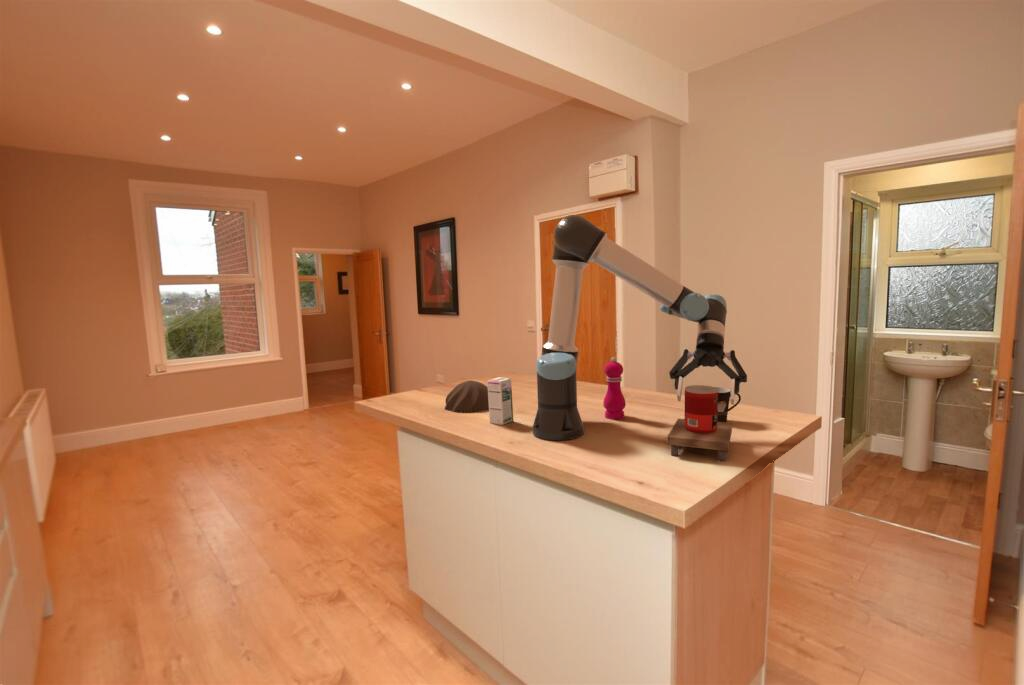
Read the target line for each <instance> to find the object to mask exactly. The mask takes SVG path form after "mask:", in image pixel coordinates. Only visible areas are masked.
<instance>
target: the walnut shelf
mask: <svg viewBox="0 0 1024 685" xmlns="http://www.w3.org/2000/svg"><path fill="white" fill-rule="evenodd" d="M672 426H673V427H672V428H671V430H670V432H669V434H668V435H667V441H666V443H667V445H670V456H673V457H678V456H679V447H686V448H687V447H688V448H698V449H707V450H713V451H714V450H715V451H717V461H718V462H721V461H724V462H726V461H727V452H729V450H730V449H729V448H730V444H731V439H732V437H731V436H732V432H733V422H717V430H716V431H715V432H713V433H695V432H691V431H688V430H687V429H686V428H685V418H677V420H676V422H675V423H674V425H672Z"/></svg>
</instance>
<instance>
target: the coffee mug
mask: <svg viewBox="0 0 1024 685" xmlns="http://www.w3.org/2000/svg"><path fill="white" fill-rule="evenodd" d="M714 387H715V388H717V389H718V414H717V422H726V423H728V422H727V421H728V412H730V411H731V410H733V409H734V408H736V407H737V406H738V405H739V404H740V402H741V399H742V398H741V395H740V393H735V395H736V396H737V397H738V400H737V401H736V403H734V405H732V406H731V407H729V406H730V401H731V388H727V387H719V386H714Z"/></svg>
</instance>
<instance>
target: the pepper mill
mask: <svg viewBox="0 0 1024 685" xmlns="http://www.w3.org/2000/svg"><path fill="white" fill-rule="evenodd" d="M604 373H605V375H606V380H605V381H607V390H606V394H605V396H604V399H603V401H602V402H603V404H602V405H603V408H604V409H605V411H604V417H605V418H607V419H609V420H610V419H611V420H623V418H625V411H624V409H625V408H626V406H627V404H626V399H625V396H624V394H623V392H622V388H621V382H622V381H623V380H622V375H623V373H624V367H623V365H622V363H620V362H618V361H617V357H614V356H613V357H611V358H610V361H609V362H607V363H606V365H605V366H604Z"/></svg>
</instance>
